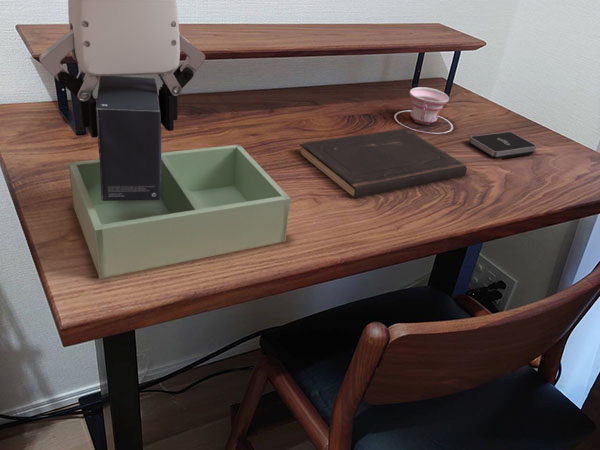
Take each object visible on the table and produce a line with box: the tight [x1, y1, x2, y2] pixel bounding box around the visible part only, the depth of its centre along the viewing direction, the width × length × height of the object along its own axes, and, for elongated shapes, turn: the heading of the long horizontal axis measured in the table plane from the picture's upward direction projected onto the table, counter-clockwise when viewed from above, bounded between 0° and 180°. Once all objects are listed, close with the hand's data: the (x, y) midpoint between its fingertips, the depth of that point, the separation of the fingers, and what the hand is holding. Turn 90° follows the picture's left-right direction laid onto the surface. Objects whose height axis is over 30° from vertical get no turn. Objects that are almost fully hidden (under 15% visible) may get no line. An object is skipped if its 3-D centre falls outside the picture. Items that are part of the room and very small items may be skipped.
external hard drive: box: [468, 131, 537, 160], centre depth 104 cm, size 7×11×2 cm, turn 118°
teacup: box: [393, 86, 454, 135], centre depth 110 cm, size 12×12×6 cm
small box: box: [96, 75, 162, 201], centre depth 61 cm, size 11×6×10 cm, turn 15°
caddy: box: [68, 144, 291, 280], centre depth 68 cm, size 22×16×7 cm
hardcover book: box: [299, 128, 468, 200], centre depth 92 cm, size 16×23×2 cm
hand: (130, 128), depth 60 cm, fingers closed on small box, 7 cm apart
